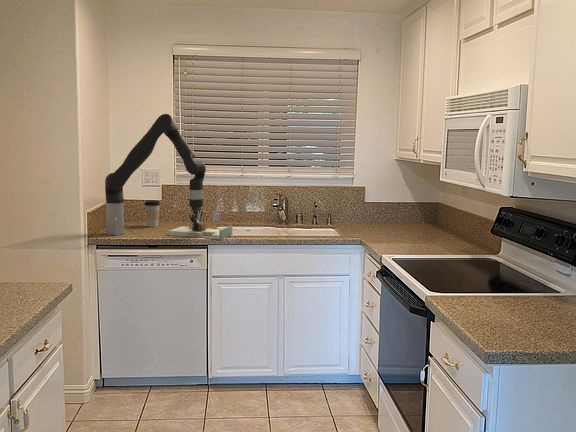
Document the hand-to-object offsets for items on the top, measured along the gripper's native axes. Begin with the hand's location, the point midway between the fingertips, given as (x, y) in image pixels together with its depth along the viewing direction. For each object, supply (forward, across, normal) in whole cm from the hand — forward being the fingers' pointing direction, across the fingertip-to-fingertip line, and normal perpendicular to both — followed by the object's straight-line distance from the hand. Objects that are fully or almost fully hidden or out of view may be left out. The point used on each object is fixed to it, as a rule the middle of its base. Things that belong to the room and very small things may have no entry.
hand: (196, 229), depth 321 cm
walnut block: (+1, -5, -1) cm, 5 cm away
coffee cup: (+4, -19, -37) cm, 42 cm away
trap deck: (+4, -6, 0) cm, 7 cm away
